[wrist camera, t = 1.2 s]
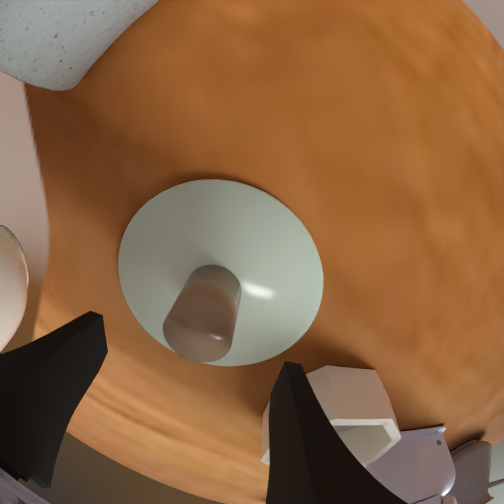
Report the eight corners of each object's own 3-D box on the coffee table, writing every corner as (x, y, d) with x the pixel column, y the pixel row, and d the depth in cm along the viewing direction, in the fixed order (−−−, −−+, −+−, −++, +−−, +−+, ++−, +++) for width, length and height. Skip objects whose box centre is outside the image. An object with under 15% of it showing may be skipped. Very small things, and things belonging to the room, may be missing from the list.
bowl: (404, 371, 17) (423, 415, 13) (352, 435, 21) (358, 473, 16) (287, 359, 17) (289, 415, 13) (255, 429, 20) (252, 472, 16)
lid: (348, 208, 13) (382, 240, 9) (287, 371, 18) (289, 427, 13) (130, 162, 13) (75, 175, 9) (126, 332, 18) (96, 379, 13)
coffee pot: (438, 471, 28) (453, 530, 14) (418, 468, 26) (434, 541, 12) (531, 400, 21) (559, 456, 7) (529, 382, 19) (567, 451, 5)
